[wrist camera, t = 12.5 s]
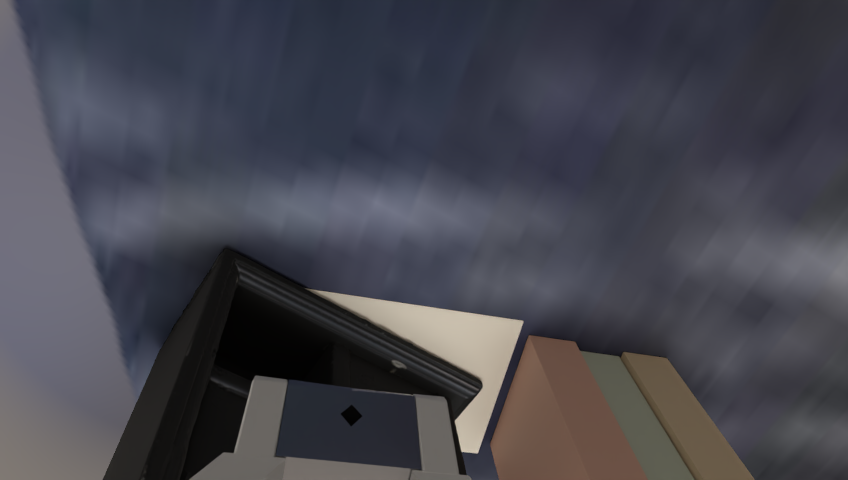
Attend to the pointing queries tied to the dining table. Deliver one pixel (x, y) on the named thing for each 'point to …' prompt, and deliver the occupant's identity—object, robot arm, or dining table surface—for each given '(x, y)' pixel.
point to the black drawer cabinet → (262, 368)
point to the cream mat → (448, 348)
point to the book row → (605, 420)
